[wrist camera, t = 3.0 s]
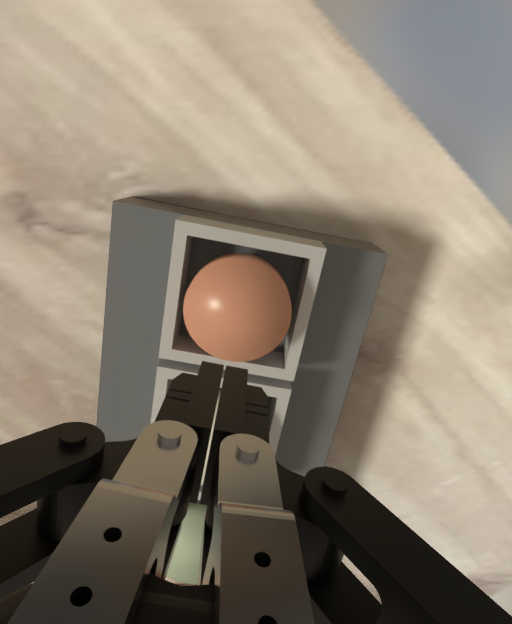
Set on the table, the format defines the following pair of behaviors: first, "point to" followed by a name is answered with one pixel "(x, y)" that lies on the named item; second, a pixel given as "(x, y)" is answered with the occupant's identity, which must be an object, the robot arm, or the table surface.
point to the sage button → (188, 546)
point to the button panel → (188, 357)
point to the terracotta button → (237, 307)
